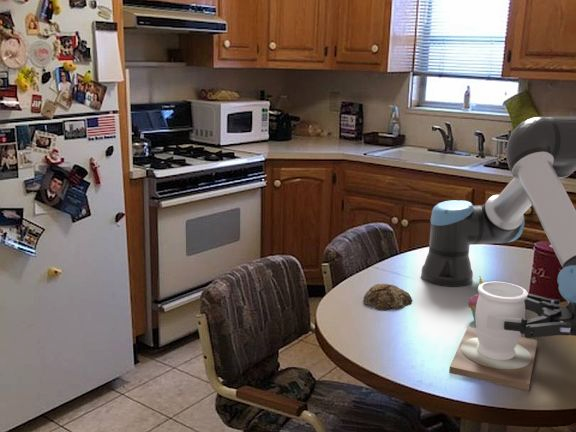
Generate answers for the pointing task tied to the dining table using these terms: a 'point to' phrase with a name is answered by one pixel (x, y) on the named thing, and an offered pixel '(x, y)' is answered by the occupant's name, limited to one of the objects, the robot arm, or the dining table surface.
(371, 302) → the bread roll
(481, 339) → the jar
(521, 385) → the board
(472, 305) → the cupcake
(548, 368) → the dining table surface
